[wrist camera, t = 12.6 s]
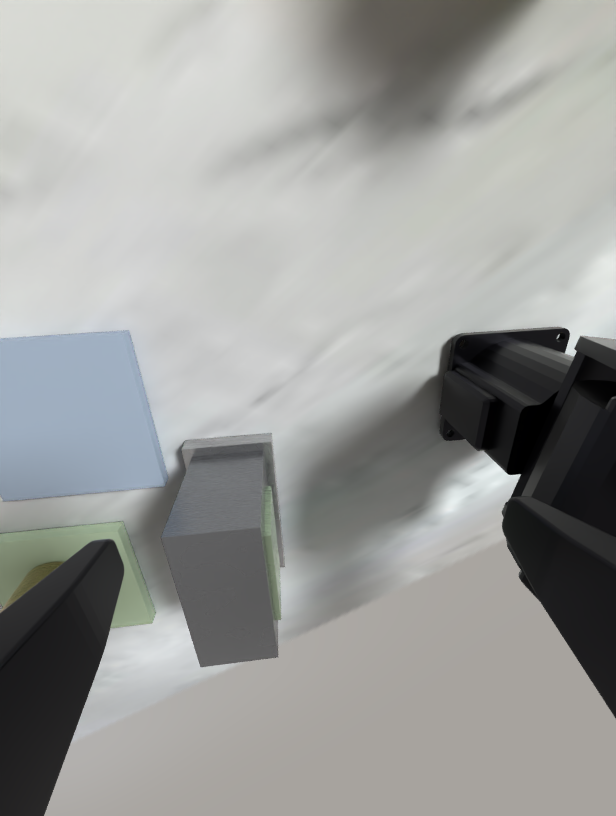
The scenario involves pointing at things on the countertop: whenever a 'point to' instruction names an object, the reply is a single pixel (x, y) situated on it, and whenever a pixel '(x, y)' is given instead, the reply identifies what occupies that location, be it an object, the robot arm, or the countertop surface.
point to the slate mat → (74, 417)
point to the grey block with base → (228, 548)
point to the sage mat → (22, 551)
